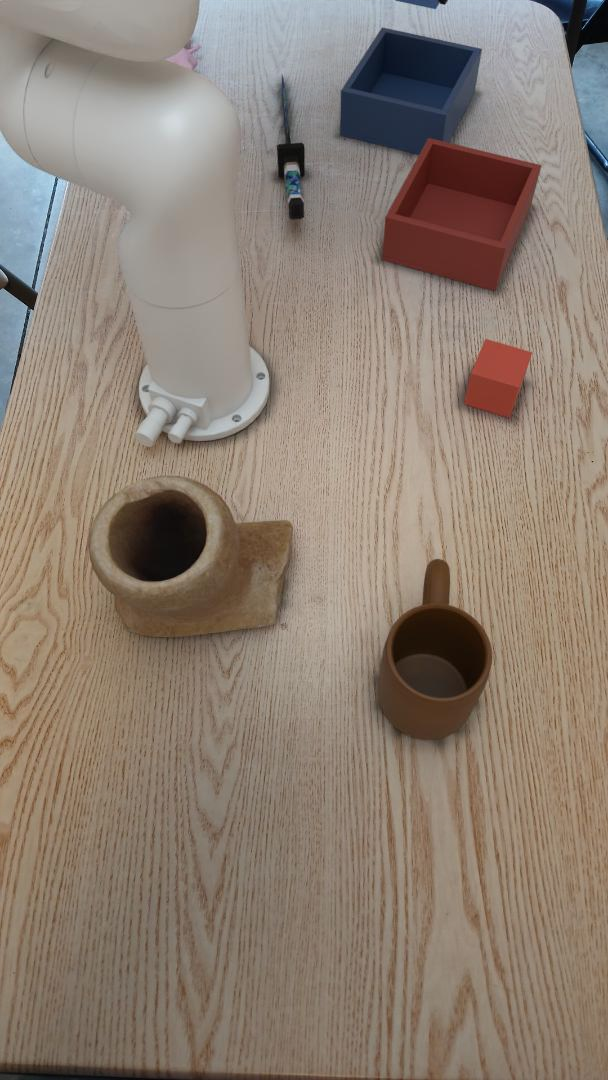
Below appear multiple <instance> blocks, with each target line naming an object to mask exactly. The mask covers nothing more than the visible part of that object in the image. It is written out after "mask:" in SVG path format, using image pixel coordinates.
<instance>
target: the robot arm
mask: <svg viewBox="0 0 608 1080" xmlns="http://www.w3.org/2000/svg"><path fill="white" fill-rule="evenodd" d="M200 2H201V0H0V133H1V135H2V137H3V138H4V140H5V141H6V143H7V144H8V146H9V147H10V148H11V150H12V151H13V152H14V154H15V155H16V156H18V158H20V159H21V160H22V161H24V162H25V163H27V164H29V166H31V167H33V168H35V169H37V170H39V171H41V172H43V173H46V174H48V175H50V176H53V177H55V178H57V179H60V180H62V181H65V182H68V183H71V184H73V185H75V186H78V187H81V188H84V189H85V190H89V191H91V192H94V193H95V194H97V195H100V196H102V197H105V198H108V199H110V200H112V201H114V202H116V203H118V204H119V205H121V206H122V207H123V208H125V210H126V211H128V213H129V215H130V217H129V218H128V219H127V221H126V222H125V224H124V226H123V227H122V229H121V231H120V233H119V237H118V243H117V254H118V260H119V261H118V262H119V266H120V270H121V274H122V277H123V281H124V284H125V287H126V291H127V294H128V299H129V302H130V305H131V310H132V312H133V317H134V319H135V320H134V321H135V324H136V327H137V328H136V329H137V331H138V335H139V339H140V342H141V346H142V350H143V354H144V357H145V360H146V364H145V366H144V367H143V370H142V372H141V375H140V378H139V383H138V395H139V397H138V398H139V400H140V404H141V407H142V409H143V412H144V413H145V415H146V416H145V418H144V419H143V421H142V422H141V424H140V425H139V427H138V428H137V430H136V431H135V433H134V434H133V437H134V439H135V440H136V441H137V443H139V444H140V445H142V446H144V447H146V448H151V447H154V445H155V443H156V441H157V440H158V438H159V437H160V435H161V434H162V433H163V432H164V433H166V434H167V438H168V440H170V441H171V442H173V443H175V444H182V442H183V440H185V441H193V442H205V441H206V442H207V441H208V442H209V441H215V440H219V439H223V438H226V437H230V436H232V435H235V434H236V433H239V432H240V431H242V430H244V429H246V428H247V427H248V426H249V425H250V424H252V423H253V422H254V421H255V420H256V419H257V418H258V417H259V416H260V415H261V413H262V412H263V410H264V408H265V407H266V404H267V403H268V400H269V396H270V389H271V388H270V386H271V381H270V374H269V371H268V367H267V364H266V362H265V361H264V359H263V358H262V356H261V355H260V353H258V351H256V349H255V348H254V347H252V346H251V345H250V339H249V337H250V336H249V329H248V328H249V327H248V319H247V318H248V317H247V309H246V303H245V302H246V301H245V293H244V291H245V290H244V283H243V274H242V266H241V265H242V264H241V258H240V257H241V256H240V250H239V249H240V248H239V237H238V227H237V189H238V179H239V178H238V177H239V168H240V159H241V149H242V129H241V122H240V119H239V114H238V112H237V109H236V108H235V106H234V104H233V102H232V101H231V99H230V97H229V96H228V95H227V93H226V92H224V91H223V89H221V87H219V86H218V85H217V83H214V82H213V81H212V80H211V79H209V78H208V77H206V76H204V75H202V74H201V73H199V72H197V71H194V70H191V69H188V68H186V67H183V66H181V65H178V64H176V63H173V62H170V61H167V60H164V59H168V58H170V57H172V56H174V55H176V54H177V53H178V52H180V51H181V50H182V49H183V47H184V46H185V45H186V44H187V43H188V42H189V40H191V39H192V37H193V35H194V33H195V29H196V27H197V23H198V20H199V14H200ZM439 2H440V3H439V5H444V6H446V4H447V3H448V2H449V0H439Z"/></svg>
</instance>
